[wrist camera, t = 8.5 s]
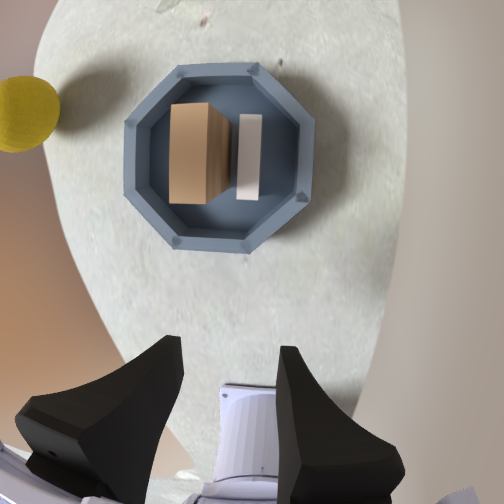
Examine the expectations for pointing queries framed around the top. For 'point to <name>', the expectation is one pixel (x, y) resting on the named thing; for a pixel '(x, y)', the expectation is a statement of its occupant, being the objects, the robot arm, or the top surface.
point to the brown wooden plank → (198, 153)
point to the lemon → (26, 112)
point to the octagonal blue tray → (242, 158)
